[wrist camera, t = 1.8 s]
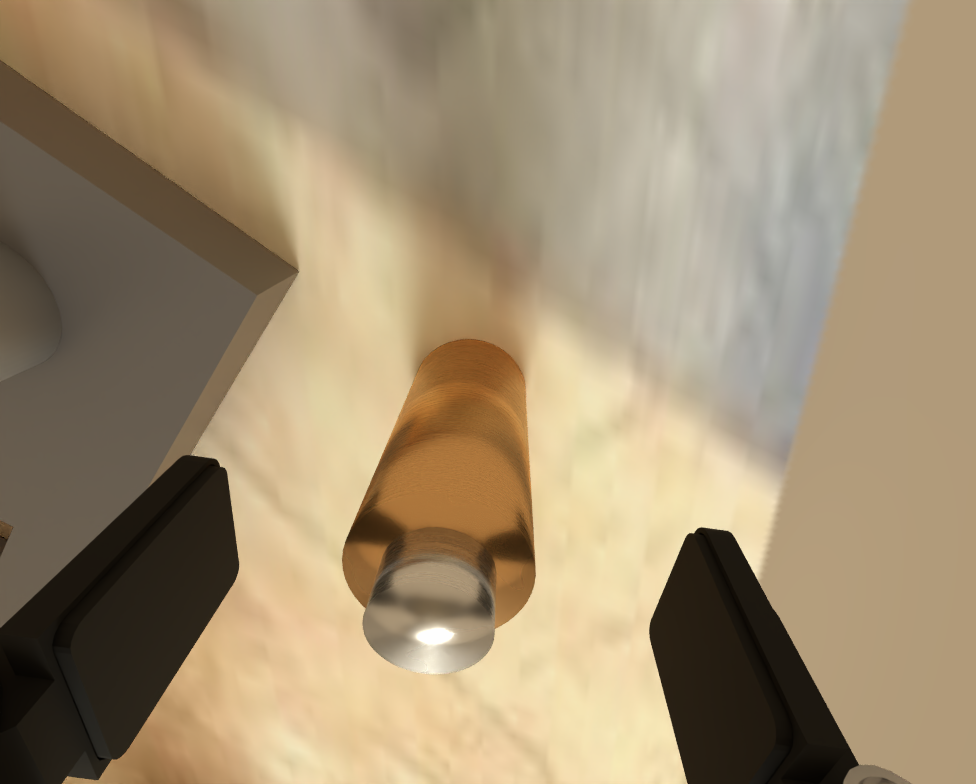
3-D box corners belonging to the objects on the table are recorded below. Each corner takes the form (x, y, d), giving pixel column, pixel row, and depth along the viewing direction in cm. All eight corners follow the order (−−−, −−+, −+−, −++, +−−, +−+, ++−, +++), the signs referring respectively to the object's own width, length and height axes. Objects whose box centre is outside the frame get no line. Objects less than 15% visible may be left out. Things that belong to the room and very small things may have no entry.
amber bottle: (480, 457, 19) (452, 725, 10) (393, 399, 18) (280, 638, 9) (548, 383, 18) (585, 622, 9) (457, 316, 17) (395, 506, 8)
